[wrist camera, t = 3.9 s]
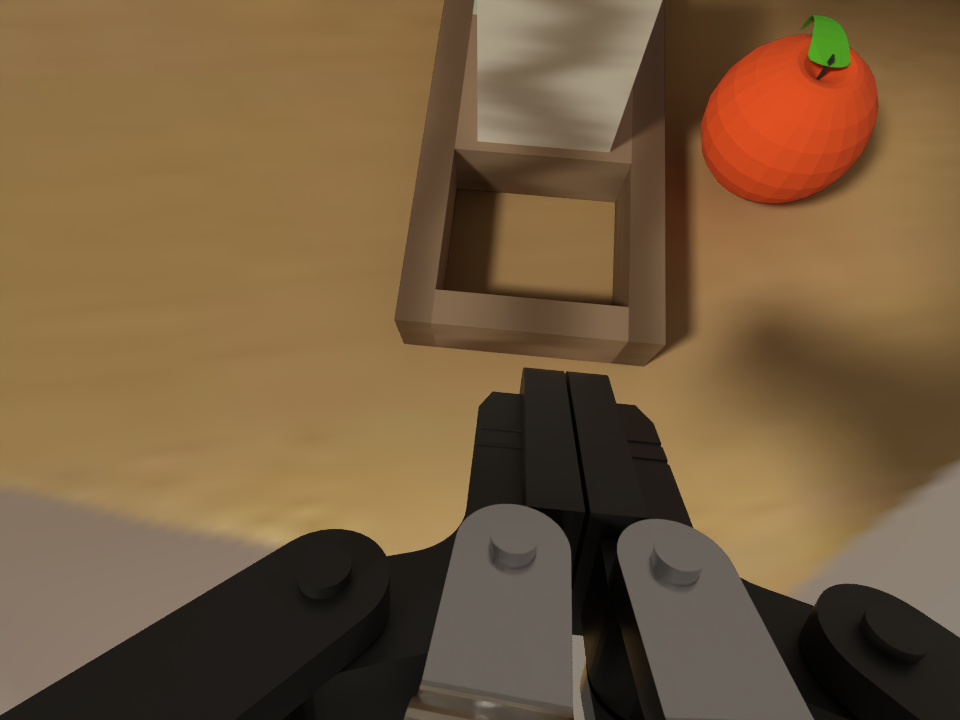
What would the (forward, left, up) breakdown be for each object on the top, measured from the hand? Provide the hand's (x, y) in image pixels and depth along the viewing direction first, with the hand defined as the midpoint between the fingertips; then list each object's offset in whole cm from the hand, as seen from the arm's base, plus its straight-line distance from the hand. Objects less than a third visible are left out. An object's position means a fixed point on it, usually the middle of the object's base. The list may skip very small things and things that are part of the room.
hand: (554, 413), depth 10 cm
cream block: (0, +18, -11) cm, 21 cm away
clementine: (+11, +17, -14) cm, 25 cm away
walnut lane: (0, +21, -14) cm, 25 cm away
